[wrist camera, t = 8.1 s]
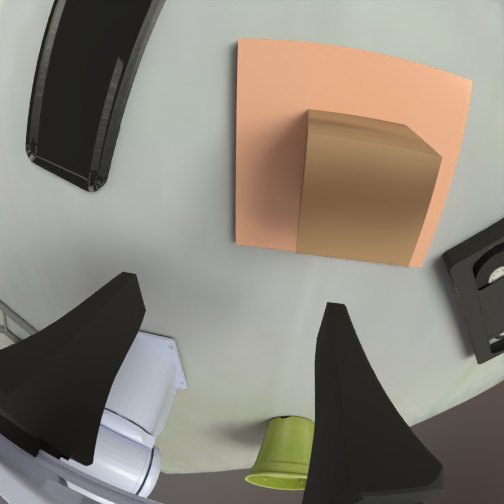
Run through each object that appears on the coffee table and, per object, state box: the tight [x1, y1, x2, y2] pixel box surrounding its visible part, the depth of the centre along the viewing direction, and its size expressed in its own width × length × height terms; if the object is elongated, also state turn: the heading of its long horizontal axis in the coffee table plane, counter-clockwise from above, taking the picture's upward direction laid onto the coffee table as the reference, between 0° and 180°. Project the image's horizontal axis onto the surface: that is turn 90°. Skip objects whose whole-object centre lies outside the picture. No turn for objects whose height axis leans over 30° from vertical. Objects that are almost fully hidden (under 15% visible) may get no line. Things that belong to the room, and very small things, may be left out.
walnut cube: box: [295, 109, 442, 266], centre depth 13 cm, size 5×5×5 cm
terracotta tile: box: [236, 39, 473, 268], centre depth 15 cm, size 12×12×1 cm
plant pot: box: [245, 416, 314, 490], centre depth 33 cm, size 9×9×9 cm
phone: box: [26, 0, 166, 192], centre depth 15 cm, size 8×1×15 cm
